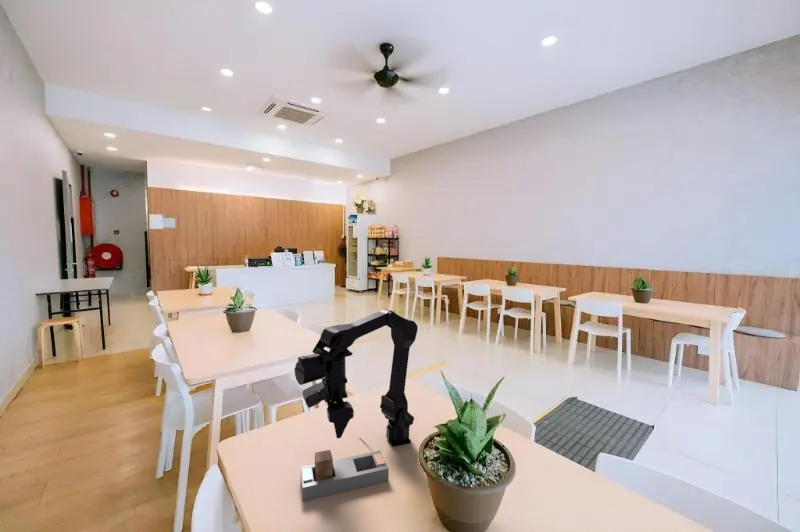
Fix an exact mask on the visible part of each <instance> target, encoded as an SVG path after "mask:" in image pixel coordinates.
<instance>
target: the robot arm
mask: <svg viewBox="0 0 800 532" xmlns="http://www.w3.org/2000/svg"><path fill="white" fill-rule="evenodd" d="M385 326H386V327H388V328H390V336H391V337H390V338H391V339H392V342H393V353H392V354H393V355H392V361H391V372H390V379H389V380H390V381H389V388H388V391H387V392H386V393H385V394H382V395H381V399H380V400H381V401H380V405H379V408H380V410H381V413H382V414H383V415H384V418H385V419H387V425H386V439H387V441H388V442H389V444H390V446H391V447H398V446H399V447H400V446H404V445H408V444H411V443H412V440H411V439H410V428H411V425H413V424H414V420H415V417H414V416H413V415H412V414H411V413H410V412H409V411H408V409H409V403H408V399H407V396H406V393H405V390H406V380H407V373H408V372H407V371H408V366H409V365H408V363H409V355H410V349H411V346H412V345H413V344H414V342H415V341H416V338H417V334H418V325H417V323H416V322H415V321H414V320H411V319H408V318H405V317H402V316H401V315H399V314H398V313H396V312H395V311H394V310H390V309H386V308H381V309H380V310H379V311H377V312H375V313H372V314H370V315H367V316H365V317H363V318H360V319H358V320H356V321H353V322H351V323H345V324H336V325H330V326H327V327H325V328H324V329H323V330H322V333H321V334H320V338H319V339H318V341H317V342H316V345H315V346H314V348H313V349H312V353H313V354H309V355H302V356H298V358H297V362H296V363H295V367H294V376H295V379H296V381H297V383H298V384H299V385H300V386H301V385H306V384H308V383H311V382H313V383H314V382H315V381H318V380H321V382H318V383H315V384H313V385H310V386H309V387H307V388H305V389H304V390H302V392H301V393H302V398H303V399H304V402H305V405H306V406H307V408H308V409H309V408H312V407H314V406H316V405H318V404H321V402H323V401H324V402H325V403H326V405H327V408H326V417H327V419H328V422H329V423H332V424H333V426H334V427H333V428H334V432H335V436H336V439H341V438H342V437H343V435H344V432H345V430H346V428H347V425H348V424H349V422H350V421H351V420H352V419H354V416H355V412H354V411H355V410H354V407H353V405H352V404H351V403H350V402H349V401H348V400H347V401H344V399H346V398H348V392H347V391H346V390H347V388H346V387H347V386H346V384H348V378H347V376H346V374H347V373H346V372H347V371H346V358H347V357H351V356H353V354H354V353H353V352H352V351H350V350H349V349H348V348H350V347H351V346H353V344H354V342H355V341H356V340H357V339H359V338H361V337H364V336H365V335H368V334H370V333H372V332H375V331H377V330H379V329H381V328H383V327H385ZM325 348H327V349H329V351H328V350H327V349H325Z"/></svg>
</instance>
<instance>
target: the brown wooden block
mask: <svg viewBox="0 0 800 532" xmlns="http://www.w3.org/2000/svg"><path fill="white" fill-rule="evenodd" d="M333 460H334V459H333V455H332V450H331V449H326V450H321V451H317V452H314V464H315V480H314V482H315V481H319V480H324V479H328V478H333Z"/></svg>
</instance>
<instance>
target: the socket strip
mask: <svg viewBox="0 0 800 532" xmlns="http://www.w3.org/2000/svg"><path fill="white" fill-rule="evenodd" d="M368 468H369V469H368ZM364 469H365V470H364ZM389 469H390V468H389V466H388V463H387V462H386V460H385V458H384V456H383V453H382V452H381V450H377V451H372V452H365V453H361V454H358V455H357V454H356V455H352V456H347V457H342V458H341V457H340V458H338V459H333V478H328V479H324V480H319V481H315V463H312V464H308V465H307V464H306V465H303V466H300V486H301V496H302V502H306V501H310V500H314V499H320V498H323V497H326V496H327V497H328V496H332V495H336V494H340V493H344V492H348V491H352V490H355V489H360V488H364V487H369V486H373V485H378V484H382V483H385V482H386V483H387V482H389V472H390V471H389ZM359 470H361V471H359Z"/></svg>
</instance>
